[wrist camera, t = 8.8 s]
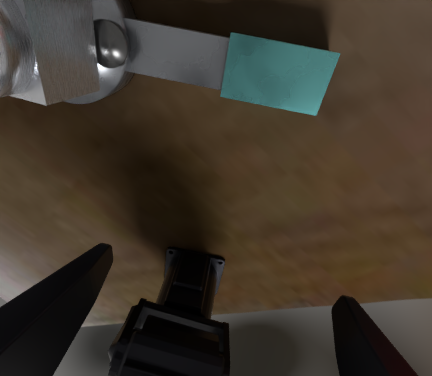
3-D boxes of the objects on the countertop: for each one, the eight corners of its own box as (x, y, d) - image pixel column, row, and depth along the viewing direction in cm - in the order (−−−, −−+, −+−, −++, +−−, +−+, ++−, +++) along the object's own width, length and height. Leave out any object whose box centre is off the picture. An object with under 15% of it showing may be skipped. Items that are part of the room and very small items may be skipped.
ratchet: (345, 4, 14) (393, -9, 9) (297, 136, 18) (312, 173, 14) (7, -60, 14) (-116, -105, 10) (40, 84, 19) (-34, 102, 14)
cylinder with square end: (100, 90, 15) (6, 116, 10) (28, 73, 16) (-92, 89, 11) (89, -17, 12) (-49, -54, 7) (2, -33, 13) (-177, -77, 8)
